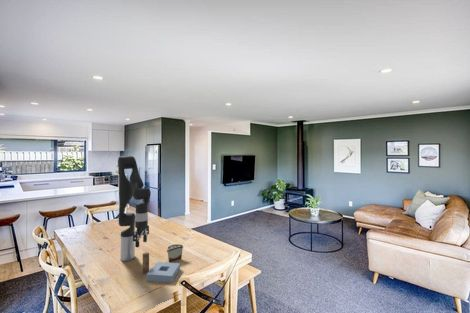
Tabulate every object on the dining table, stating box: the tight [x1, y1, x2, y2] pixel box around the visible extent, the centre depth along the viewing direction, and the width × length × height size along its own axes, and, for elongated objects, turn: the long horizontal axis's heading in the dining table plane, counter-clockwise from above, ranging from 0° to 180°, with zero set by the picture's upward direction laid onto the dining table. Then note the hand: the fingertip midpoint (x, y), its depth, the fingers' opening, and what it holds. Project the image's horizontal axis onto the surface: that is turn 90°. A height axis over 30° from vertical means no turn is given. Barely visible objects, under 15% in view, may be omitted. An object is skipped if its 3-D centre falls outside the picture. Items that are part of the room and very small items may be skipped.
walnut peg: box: [141, 252, 150, 275], centre depth 151 cm, size 4×4×12 cm
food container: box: [166, 243, 184, 263], centre depth 169 cm, size 12×6×10 cm, turn 131°
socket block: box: [145, 261, 181, 283], centre depth 148 cm, size 16×16×4 cm
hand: (141, 244), depth 149 cm, fingers open, 8 cm apart
